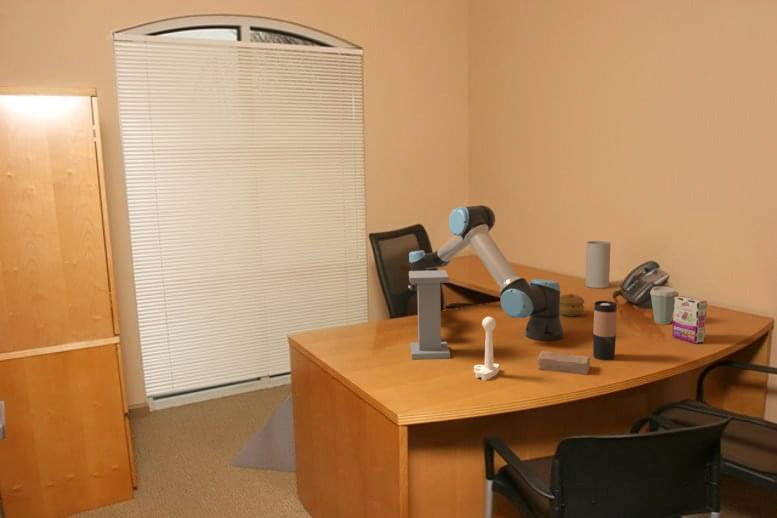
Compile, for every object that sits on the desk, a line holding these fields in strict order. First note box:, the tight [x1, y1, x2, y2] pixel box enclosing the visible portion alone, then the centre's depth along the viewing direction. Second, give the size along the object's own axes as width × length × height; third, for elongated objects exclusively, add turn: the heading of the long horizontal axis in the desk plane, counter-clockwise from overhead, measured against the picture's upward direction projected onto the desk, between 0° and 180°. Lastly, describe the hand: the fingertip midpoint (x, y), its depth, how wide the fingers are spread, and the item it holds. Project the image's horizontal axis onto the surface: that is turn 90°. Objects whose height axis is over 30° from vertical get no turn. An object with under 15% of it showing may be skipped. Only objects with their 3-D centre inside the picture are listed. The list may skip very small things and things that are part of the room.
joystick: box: [473, 316, 500, 381], centre depth 197 cm, size 11×8×20 cm
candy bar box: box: [671, 295, 708, 345], centre depth 229 cm, size 11×5×16 cm, turn 23°
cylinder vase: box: [585, 240, 612, 290], centre depth 329 cm, size 12×12×25 cm
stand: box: [408, 269, 451, 360], centre depth 221 cm, size 16×14×30 cm
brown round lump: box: [559, 293, 585, 317], centre depth 271 cm, size 12×12×10 cm
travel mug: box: [592, 300, 618, 361], centre depth 211 cm, size 8×8×20 cm
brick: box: [537, 350, 591, 375], centre depth 202 cm, size 17×8×5 cm, turn 67°
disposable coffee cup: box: [649, 285, 678, 325], centre depth 254 cm, size 11×11×15 cm
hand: (426, 288), depth 244 cm, fingers closed on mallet, 4 cm apart
